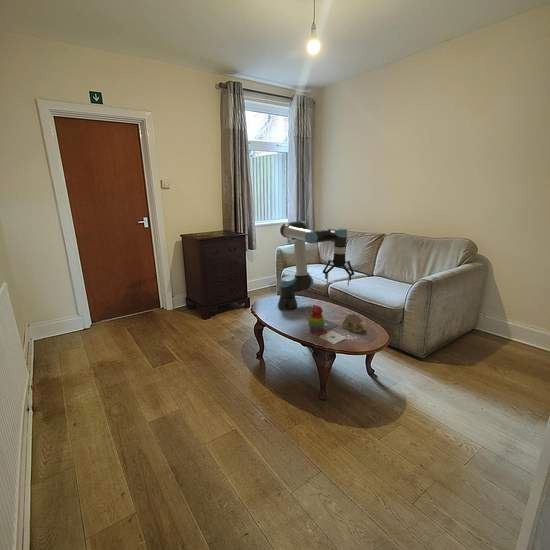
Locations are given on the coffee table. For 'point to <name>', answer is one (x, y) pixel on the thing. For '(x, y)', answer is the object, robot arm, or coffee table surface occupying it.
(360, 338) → the coffee table surface
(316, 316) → the stacking bear
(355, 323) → the beige lumpy chunk
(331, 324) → the pad
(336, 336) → the pad
